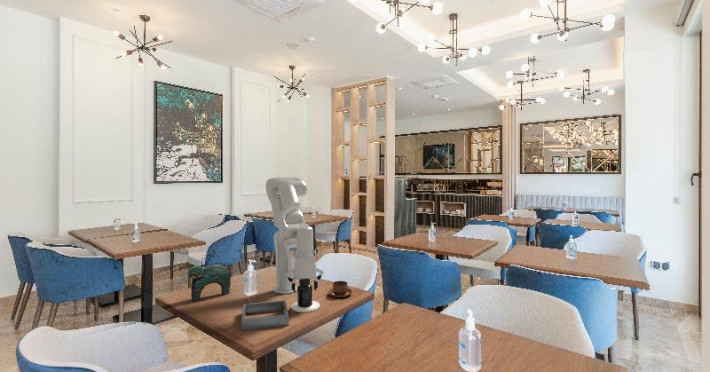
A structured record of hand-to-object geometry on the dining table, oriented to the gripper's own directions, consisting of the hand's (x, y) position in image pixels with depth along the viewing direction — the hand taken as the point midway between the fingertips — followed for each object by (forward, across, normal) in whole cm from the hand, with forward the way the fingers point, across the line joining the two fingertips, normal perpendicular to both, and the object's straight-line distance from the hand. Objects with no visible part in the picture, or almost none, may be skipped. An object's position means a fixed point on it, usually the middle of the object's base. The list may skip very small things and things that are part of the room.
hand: (304, 290), depth 165 cm
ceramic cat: (+9, +44, -26) cm, 52 cm away
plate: (+7, 0, +1) cm, 7 cm away
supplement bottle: (+7, 0, +1) cm, 7 cm away
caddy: (+7, +18, +10) cm, 22 cm away
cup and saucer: (+8, -19, -11) cm, 24 cm away
